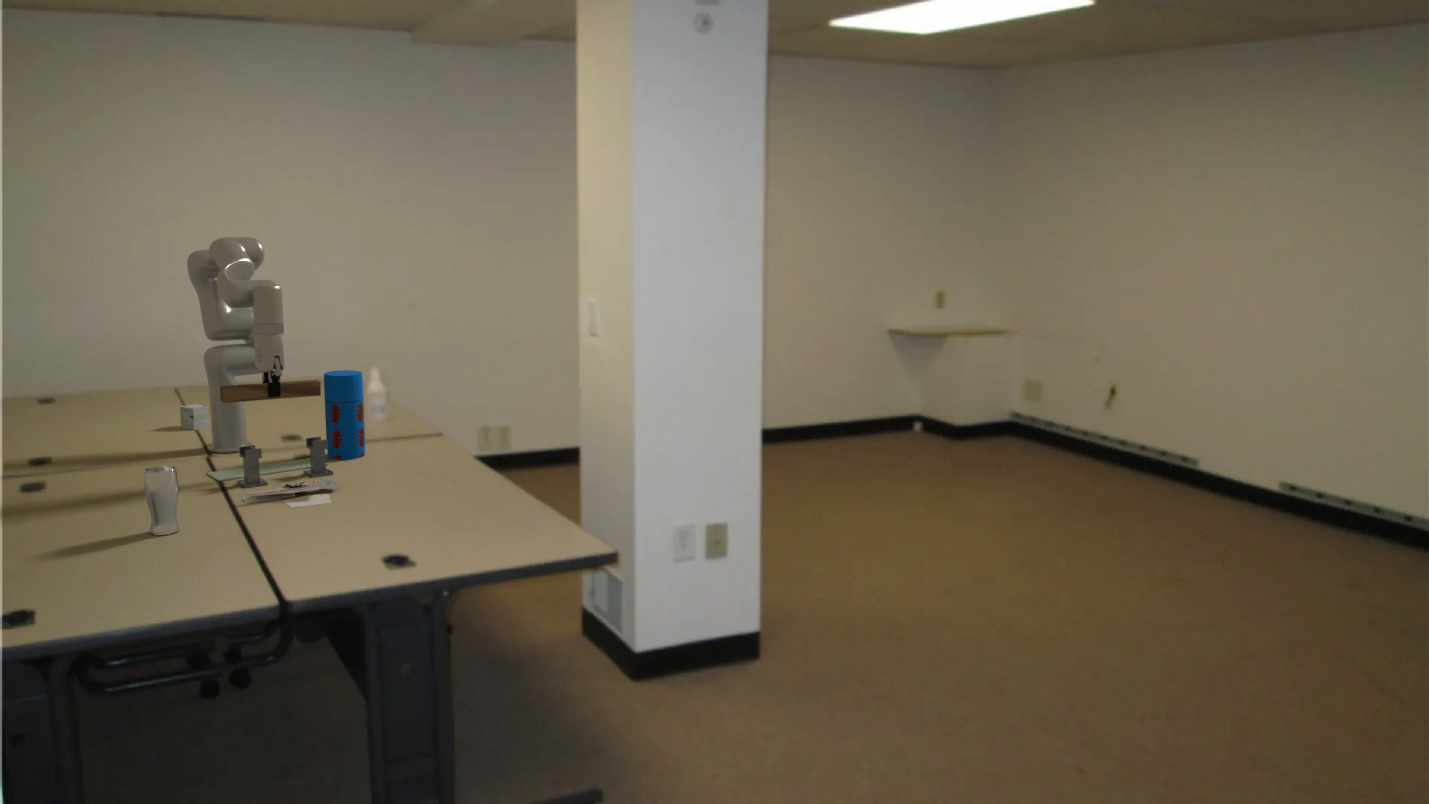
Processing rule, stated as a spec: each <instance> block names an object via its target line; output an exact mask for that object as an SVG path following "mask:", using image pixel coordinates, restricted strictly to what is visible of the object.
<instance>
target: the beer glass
mask: <svg viewBox="0 0 1429 804" xmlns="http://www.w3.org/2000/svg"><path fill="white" fill-rule="evenodd" d="M143 472H144V473H143V475H144V476H143V485H144V486H143V488H144V495H145V499H146V503H147V504H146V505H147V506H148V510H149V513H150V520H151V521H150V529H149V533H153V534H165V533H166V534H167V533H174V534H176V533H175V532H177V531H179V532H180V530H181V529H180V526H179V522H178V517H177V513H178V512H177V511H178V501H179V490H180V489H179V488H180V487H179V485H180V484H179V479H178V478H179V477H178V471H177V466H175V465H172V464H171V465H169V464H161V465H153V466H148V467H146V468H144V470H143ZM177 533H178V532H177Z"/></svg>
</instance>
